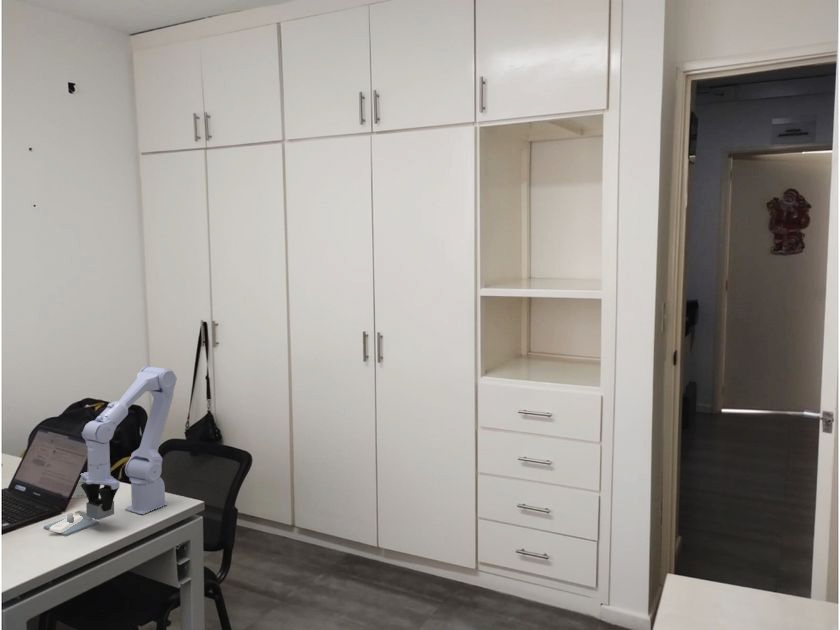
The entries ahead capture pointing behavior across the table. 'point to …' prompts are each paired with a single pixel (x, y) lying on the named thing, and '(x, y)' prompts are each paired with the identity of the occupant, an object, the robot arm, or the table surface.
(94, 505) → the grey open box
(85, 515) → the keeper
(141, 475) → the robot arm
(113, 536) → the table surface
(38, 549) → the table surface
